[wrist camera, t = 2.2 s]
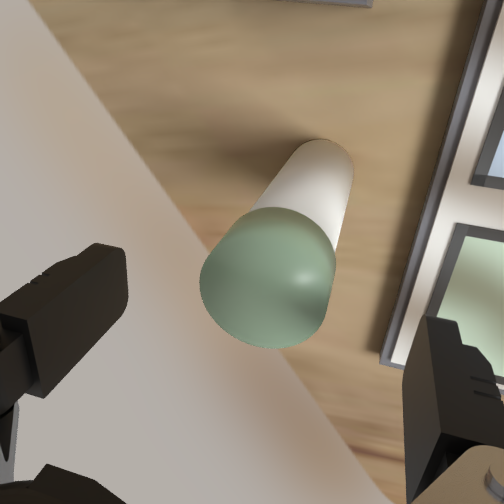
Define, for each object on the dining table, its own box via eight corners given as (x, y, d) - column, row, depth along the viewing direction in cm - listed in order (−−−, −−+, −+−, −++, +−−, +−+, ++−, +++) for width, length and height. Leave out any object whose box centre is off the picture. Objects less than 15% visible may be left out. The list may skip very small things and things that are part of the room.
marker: (288, 131, 20) (200, 224, 11) (364, 142, 20) (337, 252, 10) (280, 200, 22) (198, 331, 13) (349, 212, 21) (316, 361, 12)
